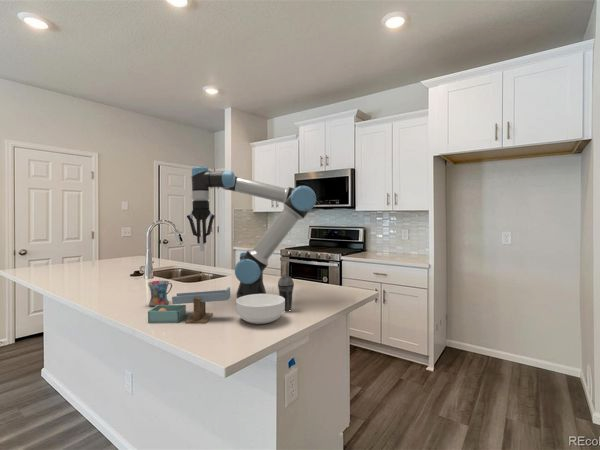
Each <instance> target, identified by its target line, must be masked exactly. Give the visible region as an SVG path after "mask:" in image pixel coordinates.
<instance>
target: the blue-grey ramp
mask: <svg viewBox="0 0 600 450" xmlns="http://www.w3.org/2000/svg"><path fill="white" fill-rule="evenodd" d="M194 298H200V302H205V303H210V302H212V303H213V302H223V301H224V302H225V301H229V300H230V298H231V287H230V286H228V287H227V288H226V289H221V290H210V291H209V290H206V291H195V292H194V291H192V292H179V293H176V296H175V295H174V296H172V297H171V301H172V304H171V305H186V304H194Z"/></svg>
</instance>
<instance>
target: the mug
mask: <svg viewBox="0 0 600 450" xmlns="http://www.w3.org/2000/svg"><path fill="white" fill-rule="evenodd" d="M169 285H170V288H169V290H168V287H169ZM147 286H148V287H149V291H150V301H149V303H148V305H149V306H151V307H155V306H156V305H169V300H168V296H167V295H168V294H169V293H170V292H171V290H172V288H173V284H172V283H171V282H170V281H169V280H152V281H149V282H148V283H147Z"/></svg>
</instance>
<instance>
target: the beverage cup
mask: <svg viewBox="0 0 600 450" xmlns="http://www.w3.org/2000/svg"><path fill="white" fill-rule="evenodd" d="M283 267H284V275H282V276H281V277H280V278H279V279H278V281H277V282H278V283H277V288H278V295H279V296H282V297H283V298H285V310H284V311H289V310H292V305H293V304H292V303H293V294H294V293H293V292H294V286H295V284H294V280H293V278H292V277H291V276H289V275H287V273H286V266H285V265H284V266H283ZM289 312H290V311H289Z"/></svg>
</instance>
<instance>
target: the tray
mask: <svg viewBox="0 0 600 450" xmlns="http://www.w3.org/2000/svg"><path fill="white" fill-rule="evenodd" d="M161 308H164V309H166V310H167V311H158V310H159V309H161ZM186 316H187V305H186V304H166V305H156V306H152V307H151V309H149V310H148V311H147V323H149V324H151V323H152V324H157V323H159V324H160V323H161V324H163V323H164V324H165V323H170V324H171V323H176V324H177V323H180V322H182V320H183V319H185V317H186Z"/></svg>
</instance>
